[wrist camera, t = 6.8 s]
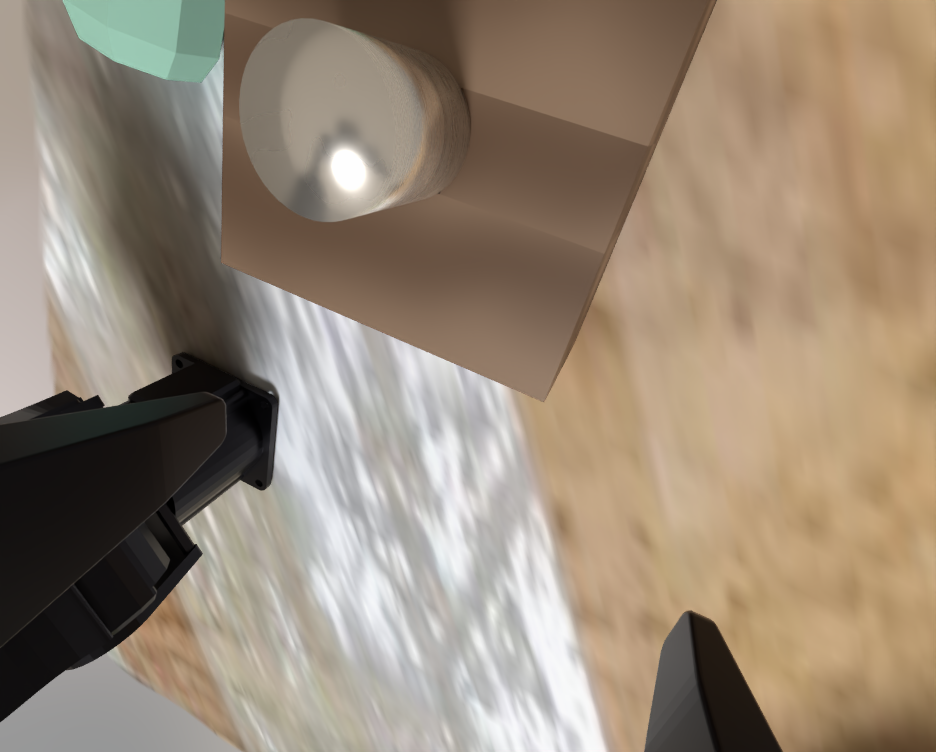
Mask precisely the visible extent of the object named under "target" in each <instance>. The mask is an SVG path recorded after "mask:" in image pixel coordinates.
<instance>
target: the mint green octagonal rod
mask: <svg viewBox="0 0 936 752" xmlns="http://www.w3.org/2000/svg"><path fill="white" fill-rule="evenodd" d="M63 2H64V5H65V7H66V9H67V12H68V14H69V16H70V19H71V21H72V23H73V26H74V28H75V30H76V33H77V35H78V37H79V39H81V40H82V41H84V42H85V43H87V44H88V45H90V46H91V47H93V48H94V49H96V50H97V51H99V52H101V53H102V54H104V55H105V56H107V57H108V58H110V59H111V60H113V61H115V62H117V63H120V64H123V65H126V66H129V67H132V68H134V69H137V70H140V71H143V72H146V73H149V74H151V75H154V76H157V77H160V78H163V79H166V80H175V81H188V82H200V83H201V82H202V81H203V80H204V78H205V77H206V76H207V74H208V73H209V72H210V70H211V69H212V68H213V66H214V65H215V64H216V62H217V61H218V60H219V57H220V50H221V44H222V38H223V31H224V18H225V0H63Z"/></svg>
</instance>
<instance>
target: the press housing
mask: <svg viewBox="0 0 936 752" xmlns="http://www.w3.org/2000/svg"><path fill="white" fill-rule="evenodd" d="M716 1H717V0H225V18H224V90H223V161H222V232H221V263H223V264H225V265H227V266H230V267H232V268H234V269H237V270H239V271H241V272H244V273H246V274H248V275H251V276H253V277H255V278H258V279H260V280H262V281H264V282H267V283H269V284H271V285H274V286H276V287H278V288H281V289H283V290H285V291H288V292H290V293H292V294H295V295H297V296H299V297H301V298H304V299H306V300H308V301H311V302H313V303H315V304H318V305H320V306H322V307H325V308H327V309H329V310H332V311H334V312H336V313H339V314H341V315H343V316H345V317H348V318H350V319H352V320H355V321H357V322H359V323H362V324H364V325H366V326H369V327H371V328H373V329H376V330H378V331H380V332H383V333H385V334H387V335H389V336H392V337H394V338H396V339H399V340H401V341H403V342H406V343H408V344H410V345H413V346H415V347H417V348H420V349H422V350H424V351H426V352H429V353H431V354H433V355H436V356H438V357H440V358H443V359H445V360H447V361H450V362H452V363H454V364H457V365H459V366H461V367H464V368H466V369H468V370H470V371H473V372H475V373H477V374H480V375H482V376H484V377H487V378H489V379H491V380H494V381H496V382H498V383H501V384H503V385H505V386H508V387H510V388H512V389H514V390H517V391H519V392H521V393H524V394H526V395H528V396H531V397H533V398H535V399H538V400H540V401H542V402H544V401H545V399H546V397H547V395H548V394H549V392H550V390H551V388H552V386H553V384H554V382H555V380H556V378H557V376H558V374H559V372H560V370H561V368H562V367H563V365H564V363H565V361H566V359H567V357H568V355H569V353H570V351H571V349H572V347H573V345H574V343H575V341H576V338H577V336H578V334H579V331H580V329H581V326H582V324H583V321H584V319H585V317H586V314H587V312H588V309H589V307H590V305H591V302H592V300H593V297H594V295H595V293H596V290H597V288H598V285H599V283H600V280H601V278H602V276H603V273H604V271H605V268H606V266H607V264H608V261H609V259H610V256H611V254H612V252H613V249H614V247H615V244H616V242H617V239H618V237H619V235H620V232H621V230H622V227H623V225H624V223H625V220H626V218H627V215H628V213H629V211H630V208H631V206H632V203H633V201H634V198H635V196H636V194H637V191H638V189H639V186H640V184H641V182H642V179H643V177H644V174H645V172H646V170H647V167H648V165H649V162H650V160H651V157H652V155H653V153H654V150H655V148H656V145H657V143H658V141H659V138H660V136H661V133H662V131H663V129H664V126H665V124H666V121H667V119H668V116H669V114H670V112H671V109H672V107H673V104H674V102H675V100H676V97H677V95H678V92H679V90H680V88H681V85H682V83H683V80H684V78H685V75H686V73H687V71H688V68H689V66H690V63H691V61H692V59H693V56H694V54H695V51H696V49H697V47H698V44H699V42H700V39H701V37H702V34H703V32H704V30H705V27H706V25H707V22H708V20H709V18H710V15H711V13H712V10H713V8H714V6H715V3H716ZM301 18H309V19H317V20H322V21H326V22H329V23H332V24H335V25H339V26H342V27H345V28H348V29H352V30H355V31H358V32H361V33H365V34H368V35H371V36H374V37H378V38H381V39H384V40H387V41H391V42H394V43H397V44H400V45H404V46H407V47H410V48H413V49H417V50H420V51H423V52H425V53H428V54H430V55H431V56H433V57H435V58H436V59H438V60H439V61H440V62H441V63H443V64H444V65H445V66H446V67H447V68H448V69H449V71H450V72H451V73H452V74H453V76H454V77H455V79H456V80H457V82H458V84H459V85H460V87H461V88H464V90H463V94H464V97H465V99H466V103H467V107H468V112H469V118H470V139H469V145H468V150H467V154H466V157H465V160H464V162H463V165H462V167H461V169H460V170H459V172H458V174H457V175H456V177H455V178H454V179H453V181H452V182H451V183H450V184H449V185H448V186H447V187H446V188H445V189H443V190H442V191H441V192H439V193H438V194H436V195H434V196H432V197H429V198H426V199H423V200H419V201H415V202H412V203H408V204H404V205H400V206H396V207H392V208H389V209H385V210H381V211H377V212H373V213H369V214H365V215H362V216H358V217H354V218H350V219H346V220H342V221H336V222H320V221H314V220H311V219H308V218H305V217H302V216H300V215H298V214H296V213H295V212H293V211H291V210H290V209H288V208H287V207H286V206H284V205H283V204H282V203H281V202H280V201H278V200H277V199H276V198H275V196H274V195H273V194H272V193H271V192H270V191H269V190H268V188H267V187H266V186H265V185H264V183H263V182H262V180H261V179H260V177H259V176H258V174H257V172H256V170H255V168H254V166H253V164H252V162H251V160H250V157H249V155H248V152H247V149H246V146H245V143H244V140H243V135H242V130H241V124H240V115H239V98H240V87H241V82H242V77H243V73H244V70H245V67H246V64H247V62H248V60H249V57H250V55H251V53H252V52H253V50H254V48H255V47H256V45H257V44H258V43H259V41H260V40H261V39H262V38H263V37H264V36H265V35H266V34H267V33H268V32H269V31H271V30H272V29H273V28H275V27H277V26H278V25H280V24H282V23H284V22H287V21H290V20H294V19H301Z"/></svg>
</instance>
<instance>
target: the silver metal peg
mask: <svg viewBox="0 0 936 752" xmlns="http://www.w3.org/2000/svg"><path fill="white" fill-rule="evenodd" d="M239 115H240V124H241V130H242V135H243V140H244V143H245V146H246V149H247V152H248V155H249V157H250V160H251V162H252V164H253V166H254V168H255V170H256V172H257V174H258V176H259V177H260V179H261V180H262V182H263V183H264V185H265V186H266V187H267V188H268V190H269V191H270V192H271V193H272V194H273V195H274V196H275V198H276V199H277V200H278V201H280V202H281V203H282V204H283V205H284V206H286V207H287V208H288V209H290V210H291V211H293V212H295V213H296V214H298V215H300V216H302V217H305V218H308V219H311V220H314V221H320V222H336V221H342V220H346V219H350V218H354V217H358V216H362V215H365V214H369V213H373V212H377V211H381V210H385V209H389V208H392V207H396V206H400V205H404V204H408V203H412V202H415V201H419V200H423V199H426V198H429V197H432V196H434V195H436V194H438V193H439V192H441V191H442V190H443V189H445V188H446V187H447V186H448V185H449V184H450V183H451V182H452V181H453V179H454V178H455V177H456V175H457V174H458V172H459V170H460V169H461V167H462V165H463V162H464V160H465V157H466V154H467V150H468V145H469V139H470V118H469V112H468V107H467V103H466V99H465V97H464V94H463V92H462V89H461V87H460V85H459V84H458V82H457V80H456V79H455V77H454V76H453V74H452V73H451V72H450V71H449V69H448V68H447V67H446V66H445V65H444V64H443V63H441V62H440V61H439V60H438V59H436V58H435V57H433V56H431V55H430V54H428V53H425V52H423V51H420V50H417V49H413V48H410V47H407V46H404V45H400V44H397V43H394V42H391V41H387V40H384V39H381V38H378V37H374V36H371V35H368V34H365V33H361V32H358V31H355V30H352V29H348V28H345V27H342V26H339V25H335V24H332V23H329V22H326V21H322V20H317V19H309V18H301V19H294V20H290V21H287V22H284V23H282V24H280V25H278V26H277V27H275V28H273V29H272V30H271V31H269V32H268V33H267V34H266V35H265V36H264V37H263V38H262V39H261V40H260V41H259V43H258V44H257V45H256V47H255V48H254V50H253V52H252V53H251V55H250V57H249V60H248V62H247V64H246V67H245V70H244V73H243V77H242V82H241V87H240V98H239Z"/></svg>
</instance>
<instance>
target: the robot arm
mask: <svg viewBox="0 0 936 752" xmlns="http://www.w3.org/2000/svg"><path fill="white" fill-rule="evenodd" d="M128 399H129V401H126V402H124V403H122V404H120V405H118V406H112V407H106V408H103V406H105V405H104V403H103V402H102V400H101V399H100V397H99V396H98V395H97V396H94V397H92V398H90V399H88V400H85V401H83V400H82V398H81V397H80V398H79V397H77V396H75V395H74V394H72V393H70V392H69V391H64V392H62V393H59V394H57V395H55V396H52V397H50V398H47V399H45V400H43V401H40V402H38V403H36V404H33V405H31V406H28V407H26V408H23V409H21V410H18V411H16V412H13V413H11V414H8V415H5V416H3V417H0V722H1V721H3V720H4V719H5V718H6V717H8V716H9V715H10V714H11V713H12V712H14V711H15V710H16V709H17V708H18V707H20V706H21V705H22V704H23V703H24V702H25V701H27V700H28V699H29V698H31V697H32V696H33V695H34V694H35V693H36V692H38V691H39V690H40V689H42V688H43V687H44V686H45V685H46V684H48V683H49V682H50V681H52V680H53V679H54V678H55V677H57V676H58V675H60V674H61V673H62V672H64V671H65V670H72V669H75V668H78V667H81V666H84V665H85V664H88V663H89V662H92V661H94V660H95V659H97V658H99V657H100V656H102V655H104V654H105V653H107V652H108V651H110V650H111V649H113V648H114V647H116V646H117V645H118V644H120V643H121V642H122V641H124V640H125V639H126V638H127V637H129V636H130V635H131V634H132V633H133V632H134V631H136V630H137V629H138V628H139V627H140V626H141V625H142V624H143V623H144V622H145V621H146V620H147V619H148V618H149V616H150V615H151V614H152V613H153V612H154V611H155V609H156V608H157V607H158V606H159V605H160V604H161V602H162V601H163V600H164V599H165V598H166V597H167V595H168V594H169V593H170V592H171V591H172V590H173V588H174V587H175V586H176V585H177V584H178V583H179V581H180V580H181V579H182V578H183V577H184V575H185V574H186V573H187V572H188V571H189V570H190V568H191V567H192V566H193V565H194V564H195V563H196V561H197V560H198V559H199V558H200V557H201V556H202V554H203V553H202V552H201V550H200V549H199V547H198V545H197V544H194V543H193V542H192V540H191V539H190V537H189V536H188V534H187V533H186V531H185V530H184V528H183V527H182V525H183V524H185V523H186V522H187V521H189V520H190V519H191V518H192V517H194V516H195V515H196V514H197V513H199V512H200V511H201V510H203V509H204V508H205V507H206V506H208V505H209V504H210V503H211V502H213V501H214V500H215V499H217V498H218V497H219V496H220V495H222V494H223V493H224V492H226V491H227V490H228V489H229V488H231V487H232V486H233V485H234V484H236V483H237V482H238V481H240V480H242V481H243V482H245V483H247V484H249V485H251V486H253V487H255V488H257V489H259V490H265V489H266V488H267V487H269V486H270V484H271V478H272V466H273V454H274V443H275V431H276V419H277V407H278V404H277V401H276V399H275V398H274V396H272V395H271V394H269V393H267V392H265V391H263V390H261V389H259V388H257V387H255V386H253V385H250V384H248V383H246V382H244V381H242V380H240V379H238V378H236V377H234V376H232V375H230V374H228V373H226V372H223V371H221V370H219V369H217V368H215V367H213V366H211V365H209V364H207V363H205V362H203V361H201V360H199V359H197V358H194V357H192V356H190V355H188V354H186V353H183V352H181V353H179V354H176V355H174V356H173V357H172V374H171V375H169V376H167V377H165V378H162V379H160V380H158V381H156V382H154V383H152V384H150V385H148V386H146V387H143V388H141V389H139V390H137V391H135V392H133V393H131V394H130V395H129V397H128ZM644 752H783V751H782V749H781V747H780V745H779V743H778V742H777V740H776V738H775V736H774V734H773V732H772V730H771V728H770V726H769V724H768V722H767V721H766V719H765V717H764V715H763V713H762V711H761V709H760V707H759V705H758V703H757V701H756V700H755V698H754V696H753V694H752V692H751V690H750V688H749V686H748V684H747V682H746V680H745V679H744V677H743V675H742V673H741V671H740V669H739V667H738V665H737V663H736V661H735V659H734V658H733V656H732V654H731V652H730V650H729V648H728V646H727V644H726V642H725V640H724V638H723V637H722V635H721V633H720V631H719V629H718V627H717V625H716V624H715V623H714V622H713V621H712V620H711V619H709V618H706V617H704V616H702V615H700V614H698V613H695V612H693V611H686V612H684V613H683V615H682V616H681V617H680V619H679V620H678V622H677V623H676V625H675V626H674V628H673V629H672V631H671V632H670V633H669V635H668V636H667V638H666V640H665V642H664V644H663V647H662V650H661V654H660V660H659V666H658V672H657V678H656V684H655V689H654V695H653V701H652V707H651V713H650V719H649V725H648V731H647V737H646V744H645V751H644Z"/></svg>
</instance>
